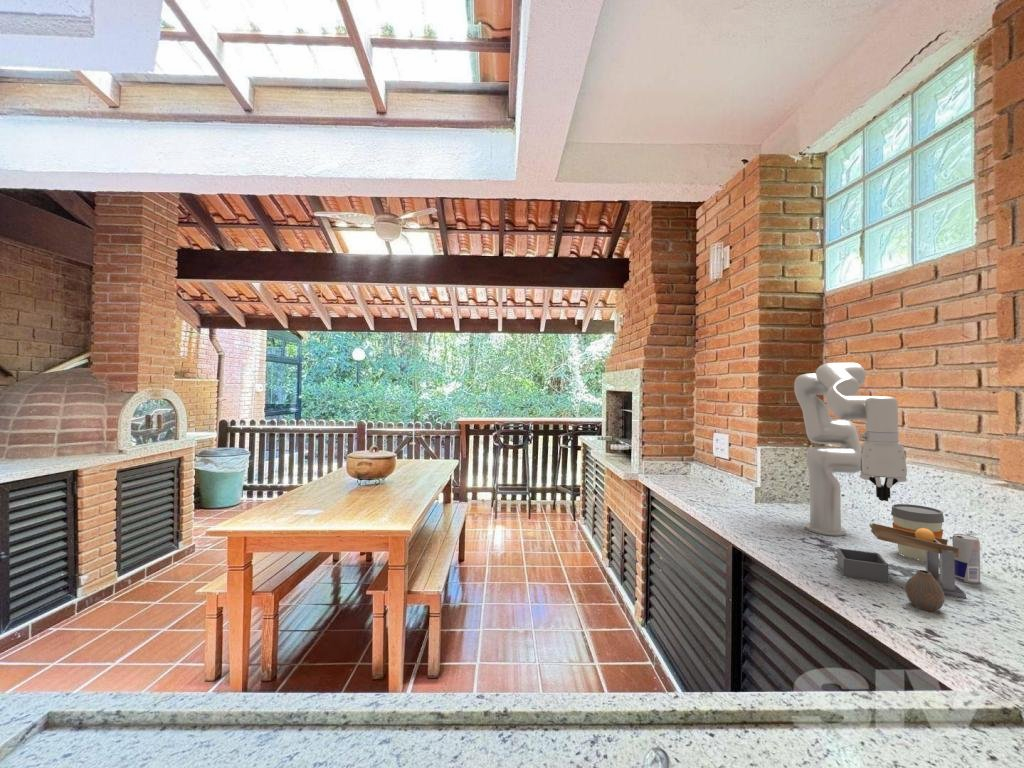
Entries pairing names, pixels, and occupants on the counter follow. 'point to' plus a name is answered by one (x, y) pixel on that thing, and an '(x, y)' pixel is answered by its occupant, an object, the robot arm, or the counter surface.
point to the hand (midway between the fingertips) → (883, 500)
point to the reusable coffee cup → (916, 524)
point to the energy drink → (967, 558)
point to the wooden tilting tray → (910, 539)
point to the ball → (924, 534)
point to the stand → (943, 571)
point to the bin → (862, 565)
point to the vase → (925, 591)
